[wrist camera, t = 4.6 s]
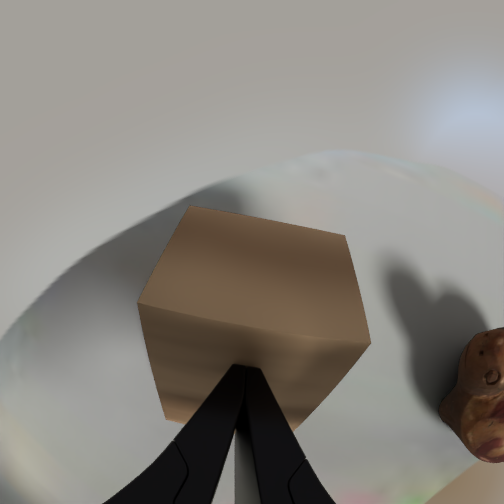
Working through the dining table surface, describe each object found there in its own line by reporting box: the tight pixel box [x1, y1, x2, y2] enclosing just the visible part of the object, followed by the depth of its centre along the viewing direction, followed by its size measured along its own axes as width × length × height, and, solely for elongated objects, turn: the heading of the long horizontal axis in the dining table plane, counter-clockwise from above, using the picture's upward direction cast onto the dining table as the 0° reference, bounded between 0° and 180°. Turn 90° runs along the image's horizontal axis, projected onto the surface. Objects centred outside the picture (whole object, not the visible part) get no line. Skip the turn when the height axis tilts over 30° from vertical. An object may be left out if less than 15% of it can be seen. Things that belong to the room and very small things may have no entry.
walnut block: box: [137, 206, 371, 434], centre depth 11 cm, size 5×6×9 cm
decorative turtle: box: [439, 327, 504, 463], centre depth 12 cm, size 10×15×8 cm, turn 56°
